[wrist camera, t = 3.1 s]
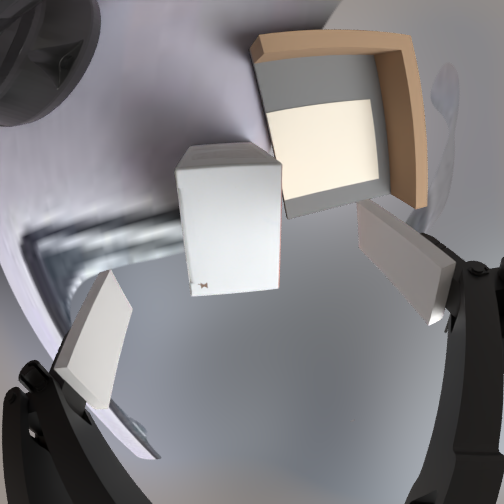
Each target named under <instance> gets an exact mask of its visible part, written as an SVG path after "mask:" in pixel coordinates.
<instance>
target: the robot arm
mask: <svg viewBox="0 0 504 504" xmlns="http://www.w3.org/2000/svg"><path fill="white" fill-rule="evenodd" d="M100 27H101V16H100V10H99V6H98V3H97V1H96V0H0V126H2V127H12V126H18V125H23V124H27V123H31V122H34V121H36V120H38V119H40V118H42V117H44V116H46V115H47V114H49V113H50V112H51V111H53V110H54V109H55V108H56V107H58V106H59V105H60V104H61V103H62V102H63V101H64V100H65V99H66V98H67V97H68V95H69V94H70V93H71V92H72V91H73V89H74V88H75V87H76V85H77V84H78V83H79V81H80V80H81V78H82V76H83V75H84V73H85V71H86V70H87V68H88V66H89V64H90V62H91V59H92V57H93V55H94V52H95V49H96V46H97V43H98V39H99V34H100ZM356 203H357V217H358V235H359V236H358V237H359V248H360V249H361V251H362V252H363V253H364V254H365V255H366V256H367V257H368V258H369V259H370V260H371V261H372V262H373V263H374V264H375V265H376V266H377V267H378V269H380V271H381V272H382V273H383V274H384V275H385V276H386V277H387V278H388V279H389V280H390V281H391V283H392V284H393V285H394V286H395V287H396V288H397V289H398V291H399V292H400V293H401V294H402V295H403V296H404V297H405V298H406V300H407V301H408V302H409V303H410V304H411V306H412V307H413V308H414V309H415V310H416V311H417V313H418V314H419V315H420V316H421V317H422V318H423V320H424V321H425V322H426V323H427V325H428V326H429V325H431V324H433V323H435V322H437V321H439V320H441V319H442V317H443V314H444V310H445V307H446V309H447V310H448V311H449V312H450V317H449V319H448V323H447V326H446V329H445V333H446V332H447V330H448V339H447V353H446V361H445V370H444V378H443V384H442V390H441V396H440V401H439V407H438V411H437V416H436V420H435V425H434V430H433V433H432V437H431V440H430V444H429V448H428V451H427V454H426V458H425V461H424V464H423V467H422V470H421V473H420V475H419V477H418V478H417V480H416V482H415V483H414V485H413V487H412V489H411V491H410V493H409V495H408V497H407V499H406V502H405V504H496V501H497V498H498V494H499V490H500V487H501V482H502V478H503V474H504V455H503V454H501V453H500V452H499V449H498V448H499V439H500V431H501V421H502V410H503V384H504V382H503V381H504V375H503V372H504V257H503V258H502V260H501V264H500V267H499V268H492V269H489V268H488V267H487V266H486V265H485V264H483V263H481V262H478V261H468V262H465V261H464V260H462V259H461V258H460V257H459V256H458V255H456V254H455V253H454V252H453V251H451V250H450V249H449V248H446V246H445V245H443V244H442V243H440V242H439V241H438V240H437V239H435V238H434V237H432V236H430V235H427V234H425V233H420V234H419V233H418V232H417V231H415V230H414V229H413V228H411V227H410V226H408V225H407V224H406V223H404V222H403V221H401V220H400V219H398V218H397V217H396V216H394V215H393V214H391V213H390V212H388V211H387V210H385V209H384V208H382V207H381V206H379V205H378V204H376V203H375V202H373V201H371V200H370V199H366V200H362V201H358V202H356ZM132 310H133V309H132V307H131V305H130V304H129V302H128V300H127V298H126V297H125V295H124V293H123V291H122V290H121V288H120V286H119V284H118V282H117V280H116V278H115V276H114V275H113V273H112V271H111V269H110V270H107V271H103V272H100V273H99V274H98V276H97V278H96V280H95V282H94V283H93V285H92V287H91V289H90V291H89V293H88V295H87V297H86V299H85V301H84V302H83V305H82V307H81V309H80V310H79V313H78V315H77V317H76V319H75V321H74V323H73V325H72V327H71V329H70V330H69V331H68V333H67V334H66V335H65V336H64V338H63V341H62V343H61V346H60V347H59V350H58V353H57V354H56V357H55V359H54V361H53V364H52V367H51V369H50V371H49V373H48V372H47V371H46V369H45V368H44V367H43V366H42V365H41V364H40V363H39V361H37V360H32V361H30V362H28V363H27V364H26V365H25V366H24V367H23V368H22V370H21V371H20V374H19V381H20V382H21V383H22V385H23V386H24V387H25V388H26V389H27V390H28V391H29V392H28V393H24V392H23V391H22V390H21V389H20V388H19V387H14V388H12V389H10V390H9V391H8V392H7V393H6V396H5V398H4V403H3V420H2V450H3V467H4V479H5V486H6V493H7V500H8V504H152V503H151V502H150V500H149V499H148V498H147V497H146V496H145V494H144V493H143V492H142V491H141V490H140V488H139V487H138V486H137V485H136V483H135V482H134V481H133V480H132V478H131V477H130V476H129V474H128V473H127V471H126V470H125V469H124V467H123V466H122V464H121V463H120V462H119V460H118V459H117V457H116V456H115V454H114V453H113V451H112V450H111V448H110V447H109V445H108V444H107V442H106V440H105V439H104V437H103V436H102V434H101V432H100V431H99V429H98V427H97V425H96V424H95V422H94V420H93V419H92V417H91V415H90V413H89V412H88V411H87V410H86V409H85V405H86V402H87V403H88V404H89V405H90V406H91V407H93V408H94V409H108V408H109V403H110V398H111V393H112V388H113V383H114V379H115V374H116V369H117V366H118V362H119V357H120V353H121V349H122V345H123V341H124V338H125V334H126V331H127V327H128V323H129V320H130V316H131V313H132ZM29 429H30V430H31V431H33V432H34V433H35V438H34V437H32V436H31V435H30V433H29Z"/></svg>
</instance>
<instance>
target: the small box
mask: <svg viewBox="0 0 504 504" xmlns="http://www.w3.org/2000/svg"><path fill="white" fill-rule="evenodd" d="M174 174H175V180H176V187H177V193H178V201H179V209H180V217H181V225H182V232H183V240H184V247H185V254H186V261H187V268H188V276H189V285H190V294H191V296H203V295H217V294H229V293H240V292H250V291H261V290H269V289H277V288H279V279H280V250H281V249H280V248H281V211H282V209H281V208H282V163H281V162H280V161H278V160H277V159H275V158H274V157H273V156H271V155H270V154H268V153H267V152H266V151H264V150H263V149H261V148H260V147H258V146H257V145H255V144H254V143H252V142H242V143H220V144H206V145H195V146H190V147H189V148H188V150H187V151H186V152H185V154H184V155H183V157H182V158H181V160H180V162H179V163H178V165H177V166H176V168H175V170H174Z"/></svg>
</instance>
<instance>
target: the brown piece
mask: <svg viewBox="0 0 504 504" xmlns="http://www.w3.org/2000/svg"><path fill="white" fill-rule="evenodd" d="M249 52H250V56H251V59H252V63H253V67H254V71H255V75H256V79H257V83H258V87H259V91H260V95H261V100H262V104H263V108H264V112H265V117H266V121H267V125H268V130H269V134H270V139H271V143H272V148H273V152H274V157H275V159H277V160H278V161H280V162H281V163H282V197H283V202H284V207H285V212H286V217H287V219H292V218H296V217H300V216H304V215H308V214H311V213H316V212H320V211H324V210H327V209H331V208H335V207H339V206H343V205H347V204H351V203H356V202H358V201H362V200H366V199H372V198H376V197H380V196H384V195H388V194H392V195H393V196H395V197H397V198H399V199H400V200H402V201H403V202H405V203H407V204H408V205H410V206H411V207H413V208H415V209H418V208H422V207H426V206H427V188H428V187H427V186H428V169H427V168H428V167H427V139H426V125H425V115H424V105H423V98H422V90H421V84H420V78H419V72H418V67H417V62H416V57H415V52H414V48H413V44H412V39H411V36H410V35H404V34H396V33H388V32H378V31H364V30H302V31H288V32H278V33H269V34H261V35H259V36H258V37H257V38H256V40H255V41H254V43H253V44H252V46H251V47H250V49H249Z"/></svg>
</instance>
